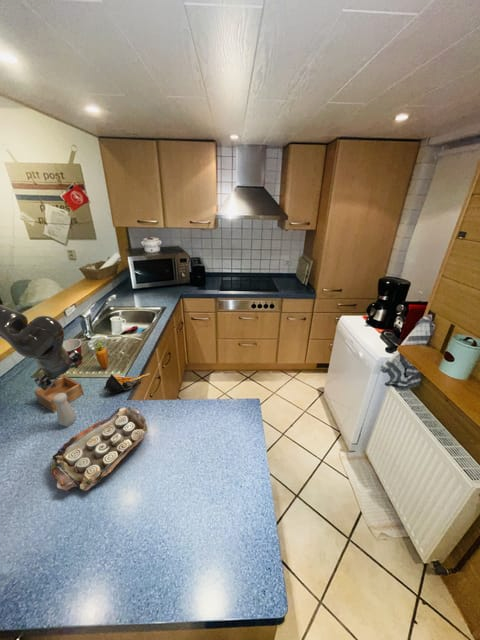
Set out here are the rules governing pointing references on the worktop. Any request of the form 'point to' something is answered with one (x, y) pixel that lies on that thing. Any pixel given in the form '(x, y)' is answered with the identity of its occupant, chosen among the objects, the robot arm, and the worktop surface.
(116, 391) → the fried shrimp in bowl
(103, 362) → the carrot
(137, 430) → the baking tray
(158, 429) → the worktop surface
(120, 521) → the worktop surface
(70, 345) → the plastic cup
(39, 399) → the box
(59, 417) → the salt shaker
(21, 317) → the robot arm
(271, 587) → the worktop surface
